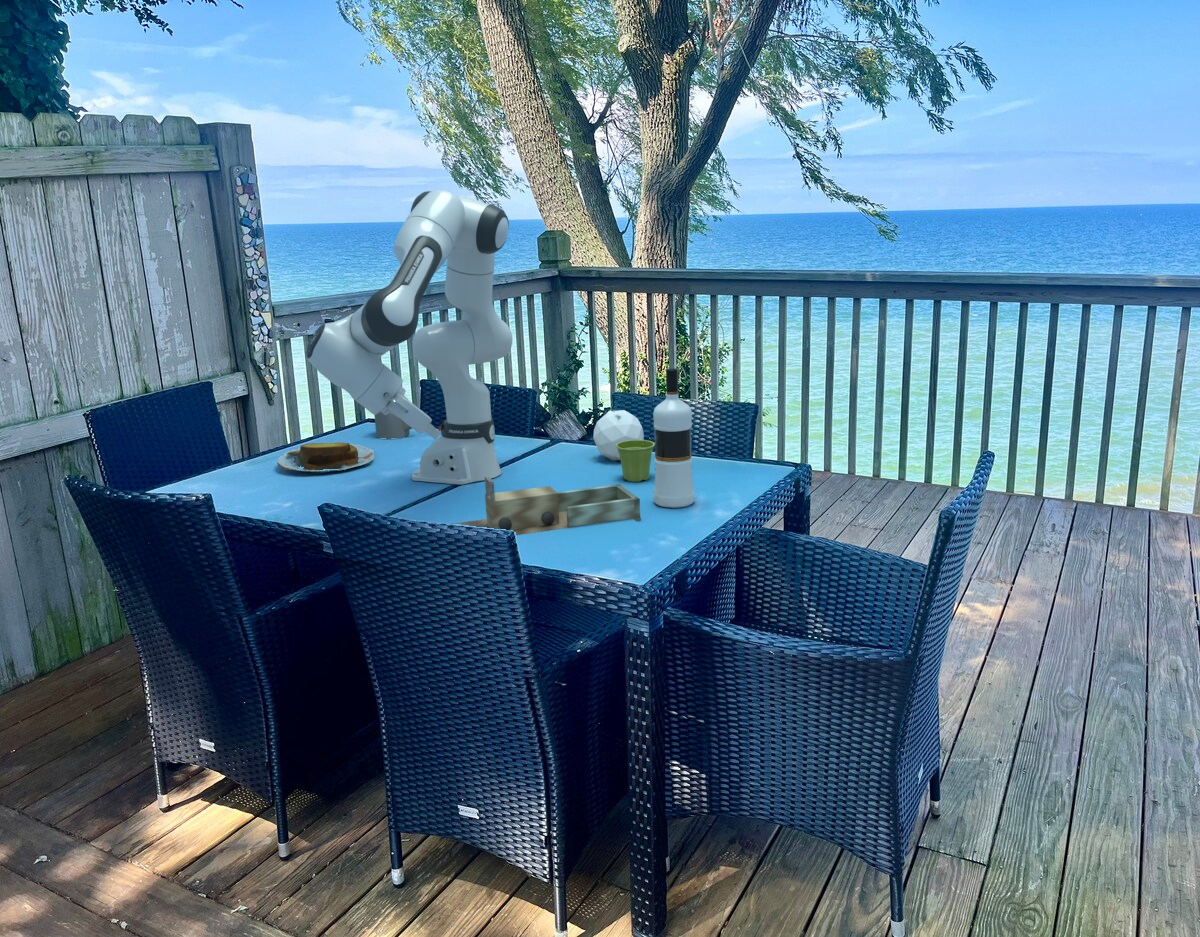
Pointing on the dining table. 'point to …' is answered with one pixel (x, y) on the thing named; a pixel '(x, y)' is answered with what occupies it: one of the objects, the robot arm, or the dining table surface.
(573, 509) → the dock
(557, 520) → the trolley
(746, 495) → the dining table surface
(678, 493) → the vodka
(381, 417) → the coffee mug
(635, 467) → the plant pot
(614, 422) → the geodesic sphere
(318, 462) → the food on plate
